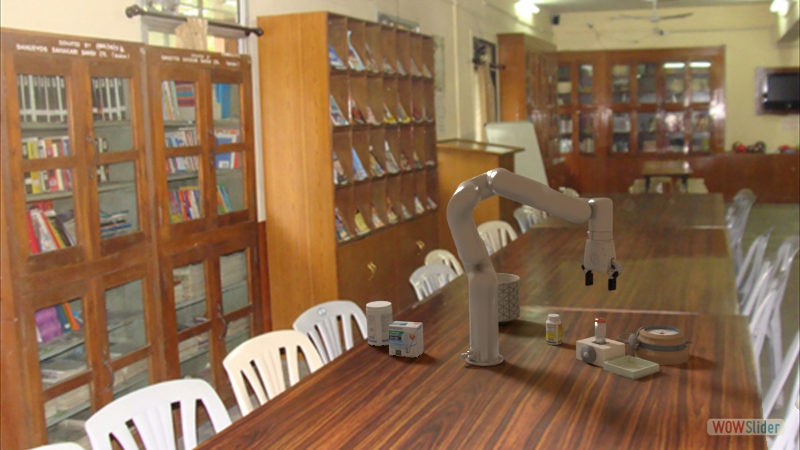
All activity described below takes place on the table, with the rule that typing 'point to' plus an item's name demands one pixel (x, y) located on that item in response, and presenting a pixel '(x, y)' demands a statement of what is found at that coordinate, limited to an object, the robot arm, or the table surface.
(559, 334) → the supplement bottle
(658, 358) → the alarm clock
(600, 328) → the pin
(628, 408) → the table surface
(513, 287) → the planter
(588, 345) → the block
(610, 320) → the table surface
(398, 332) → the light bulb box
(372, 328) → the supplement tub
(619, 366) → the tray
